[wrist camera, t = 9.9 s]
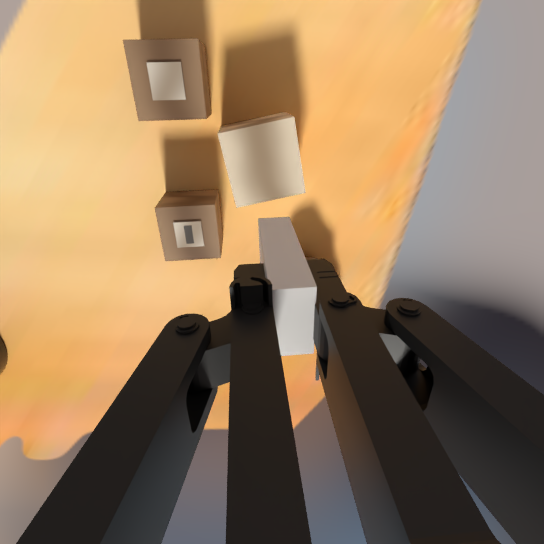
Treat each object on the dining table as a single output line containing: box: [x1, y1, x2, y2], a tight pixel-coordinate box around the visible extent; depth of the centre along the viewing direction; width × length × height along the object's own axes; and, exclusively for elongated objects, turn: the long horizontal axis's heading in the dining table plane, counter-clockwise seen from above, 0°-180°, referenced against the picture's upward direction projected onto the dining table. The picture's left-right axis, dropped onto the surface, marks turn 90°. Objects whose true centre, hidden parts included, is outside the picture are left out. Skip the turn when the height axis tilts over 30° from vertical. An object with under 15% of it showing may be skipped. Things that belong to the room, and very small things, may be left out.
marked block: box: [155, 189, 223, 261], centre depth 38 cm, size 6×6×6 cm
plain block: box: [218, 112, 306, 208], centre depth 35 cm, size 7×7×7 cm
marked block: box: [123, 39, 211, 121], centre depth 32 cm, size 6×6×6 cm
